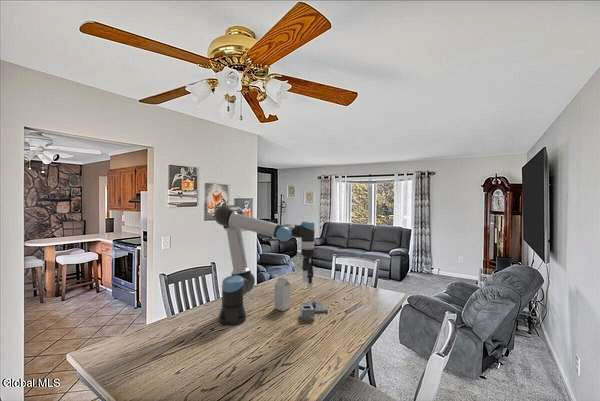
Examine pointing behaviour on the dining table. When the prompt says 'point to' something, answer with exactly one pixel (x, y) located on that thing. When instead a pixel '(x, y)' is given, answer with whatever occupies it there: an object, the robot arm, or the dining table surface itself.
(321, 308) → the shaft stand
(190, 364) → the dining table surface
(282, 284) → the milk carton
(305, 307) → the grey square sleeve
